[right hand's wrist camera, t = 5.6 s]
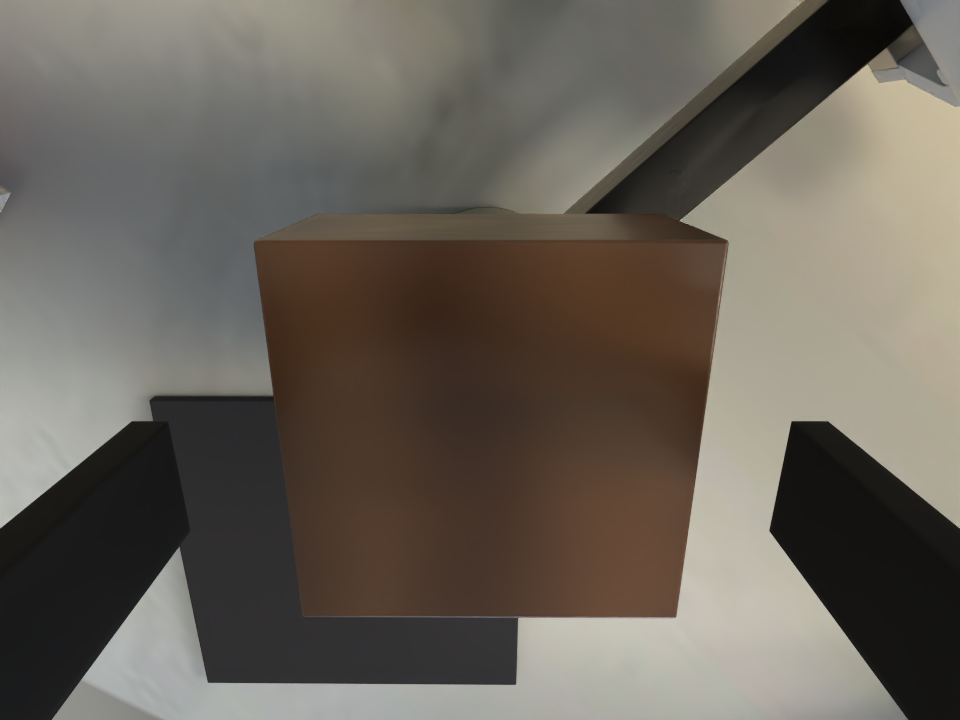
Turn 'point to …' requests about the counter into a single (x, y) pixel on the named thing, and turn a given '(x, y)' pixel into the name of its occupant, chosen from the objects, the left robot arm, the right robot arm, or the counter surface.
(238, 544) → the coaster
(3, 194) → the toy
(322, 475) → the brown square block
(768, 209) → the counter surface
